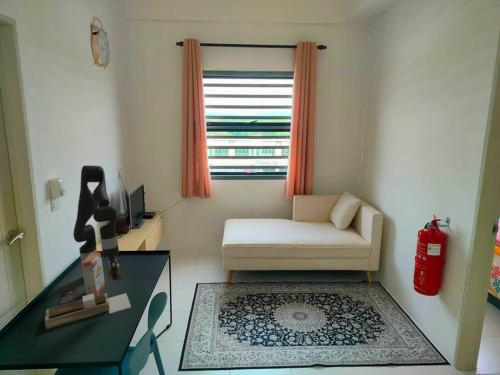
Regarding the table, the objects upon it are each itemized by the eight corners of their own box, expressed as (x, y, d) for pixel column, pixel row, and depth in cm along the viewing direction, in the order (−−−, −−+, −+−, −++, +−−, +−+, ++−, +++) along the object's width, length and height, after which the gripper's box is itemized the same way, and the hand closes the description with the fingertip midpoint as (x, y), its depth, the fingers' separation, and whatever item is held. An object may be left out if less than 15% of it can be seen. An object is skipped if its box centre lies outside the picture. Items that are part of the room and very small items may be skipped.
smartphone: (77, 288, 178) (74, 301, 165) (77, 290, 178) (74, 302, 165) (62, 292, 175) (58, 305, 162) (62, 293, 176) (58, 306, 162)
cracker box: (98, 297, 168) (92, 261, 164) (86, 299, 167) (80, 262, 163) (106, 285, 181) (100, 251, 178) (95, 286, 181) (89, 252, 177)
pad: (106, 299, 165) (106, 298, 165) (126, 294, 170) (126, 293, 170) (109, 314, 151) (109, 313, 151) (131, 307, 156) (130, 306, 156)
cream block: (84, 308, 157) (82, 296, 156) (95, 305, 160) (93, 293, 159) (85, 314, 152) (82, 301, 151) (96, 311, 155) (94, 298, 153)
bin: (48, 316, 152) (46, 309, 152) (107, 299, 165) (106, 292, 164) (46, 329, 142) (44, 321, 141) (109, 310, 155) (108, 302, 154)
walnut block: (120, 275, 162) (118, 262, 160) (121, 279, 157) (119, 266, 156) (108, 278, 159) (106, 265, 157) (109, 282, 154) (106, 269, 153)
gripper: (119, 248, 150) (124, 280, 153) (116, 240, 163) (120, 270, 166) (103, 251, 147) (108, 284, 150) (100, 243, 159) (105, 273, 162)
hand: (114, 276), depth 158 cm, fingers closed on walnut block, 5 cm apart
